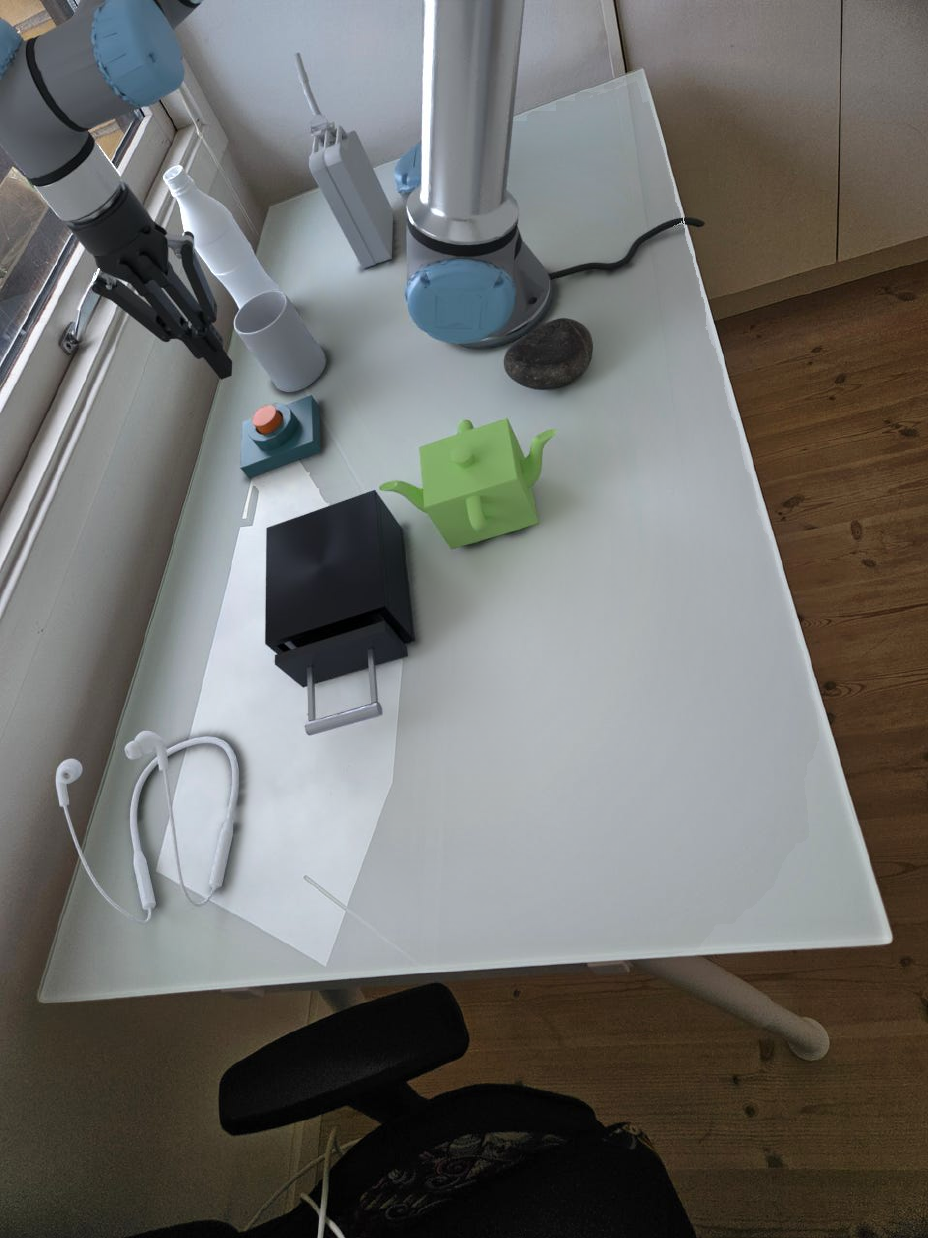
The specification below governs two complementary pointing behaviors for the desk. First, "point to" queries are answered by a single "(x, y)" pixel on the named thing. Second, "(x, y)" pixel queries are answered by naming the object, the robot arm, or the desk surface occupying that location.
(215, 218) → the water bottle
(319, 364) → the mug
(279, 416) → the stop button
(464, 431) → the teapot
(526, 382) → the stone
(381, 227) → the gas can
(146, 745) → the earphone
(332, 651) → the drawer
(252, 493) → the desk surface
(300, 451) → the stop button base
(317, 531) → the black box
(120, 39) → the robot arm
